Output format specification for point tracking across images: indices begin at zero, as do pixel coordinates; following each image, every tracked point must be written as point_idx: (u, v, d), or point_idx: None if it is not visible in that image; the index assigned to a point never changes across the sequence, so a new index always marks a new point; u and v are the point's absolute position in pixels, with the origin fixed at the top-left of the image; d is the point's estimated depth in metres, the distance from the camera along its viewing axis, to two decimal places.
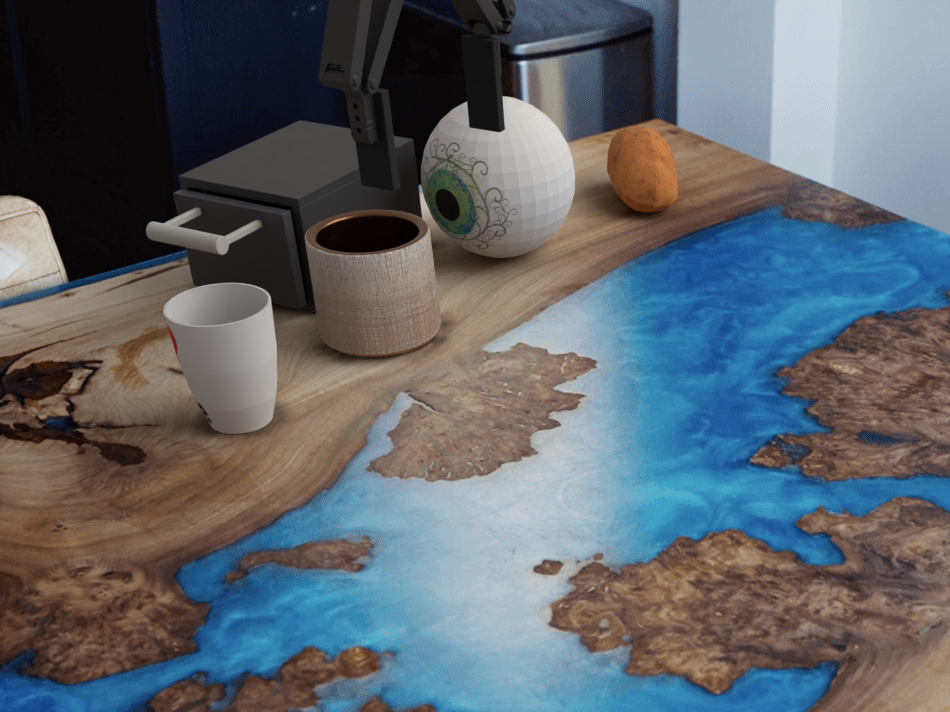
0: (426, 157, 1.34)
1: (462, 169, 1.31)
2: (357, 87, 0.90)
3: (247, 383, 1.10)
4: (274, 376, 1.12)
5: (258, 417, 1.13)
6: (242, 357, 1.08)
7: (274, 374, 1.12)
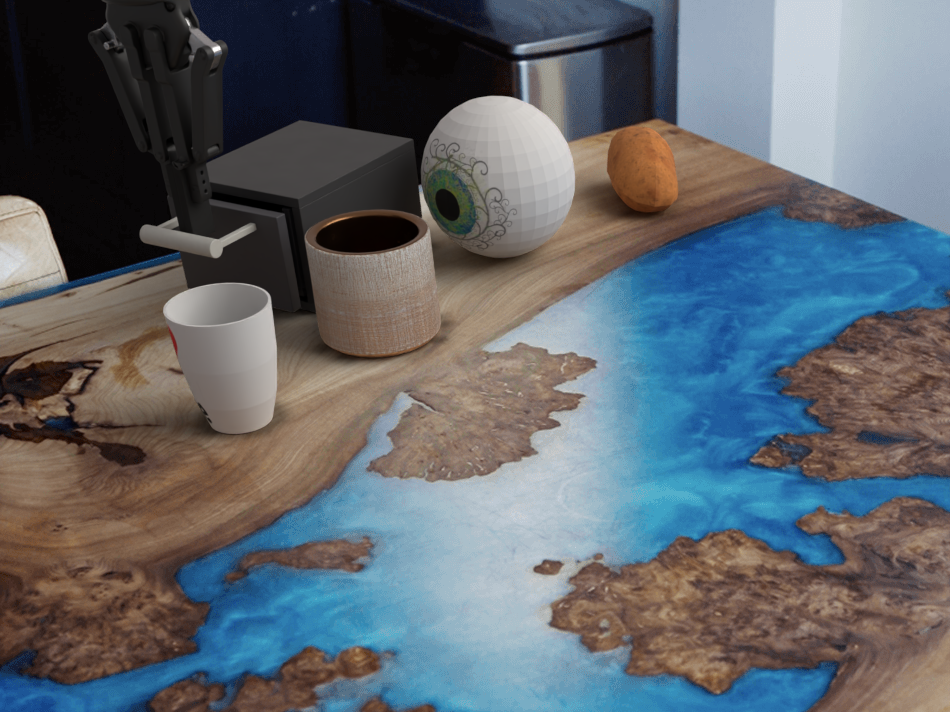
0: (426, 157, 1.34)
1: (462, 169, 1.31)
2: None
3: (247, 383, 1.10)
4: (274, 376, 1.12)
5: (258, 417, 1.13)
6: (242, 357, 1.08)
7: (274, 374, 1.12)
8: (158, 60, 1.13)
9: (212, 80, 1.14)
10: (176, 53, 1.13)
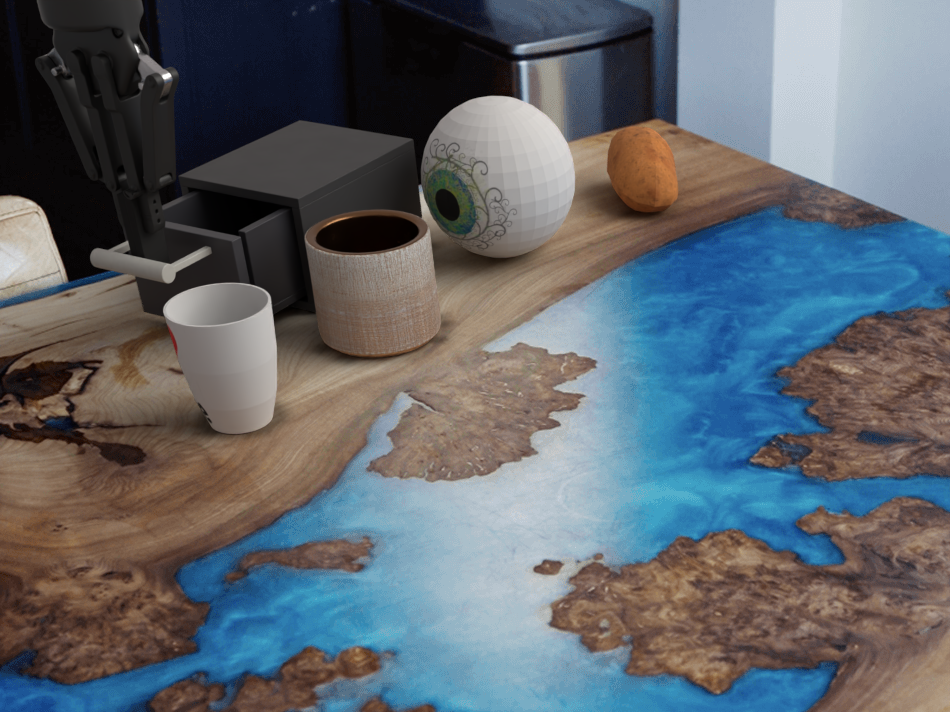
0: (426, 157, 1.34)
1: (462, 169, 1.31)
2: None
3: (247, 383, 1.10)
4: (274, 376, 1.12)
5: (258, 417, 1.13)
6: (242, 357, 1.08)
7: (274, 374, 1.12)
8: (107, 87, 1.10)
9: (163, 108, 1.11)
10: (125, 81, 1.09)
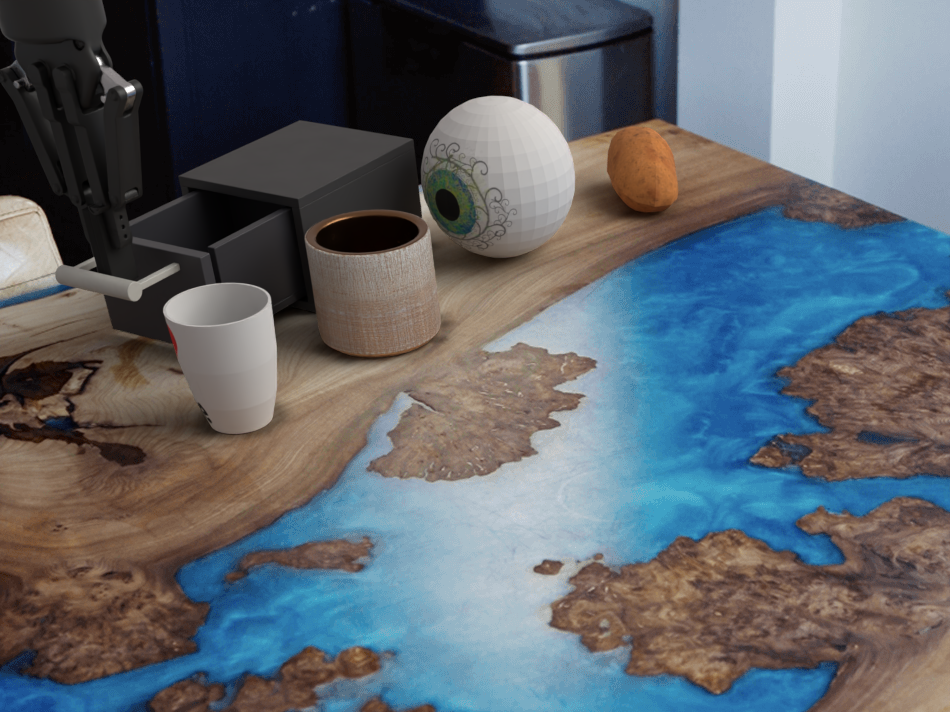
0: (426, 157, 1.34)
1: (462, 169, 1.31)
2: None
3: (247, 383, 1.10)
4: (274, 376, 1.12)
5: (258, 417, 1.13)
6: (242, 357, 1.08)
7: (274, 374, 1.12)
8: (69, 100, 1.07)
9: (127, 121, 1.08)
10: (88, 94, 1.07)
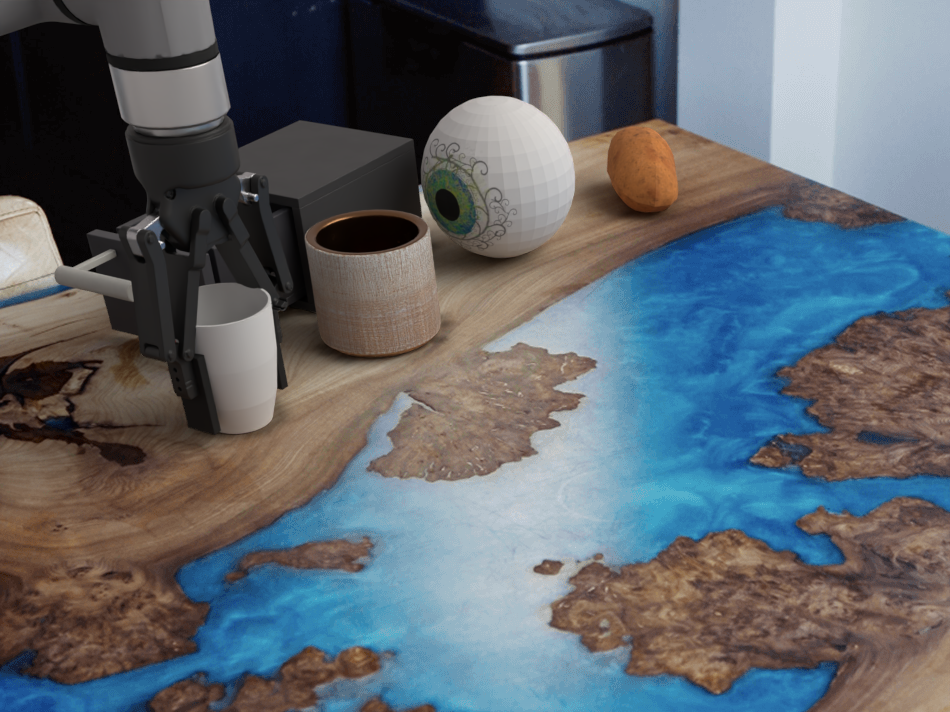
0: (426, 157, 1.34)
1: (462, 169, 1.31)
2: None
3: (247, 383, 1.10)
4: (274, 376, 1.12)
5: (258, 417, 1.13)
6: (242, 357, 1.08)
7: (274, 374, 1.12)
8: (238, 223, 1.06)
9: None
10: None
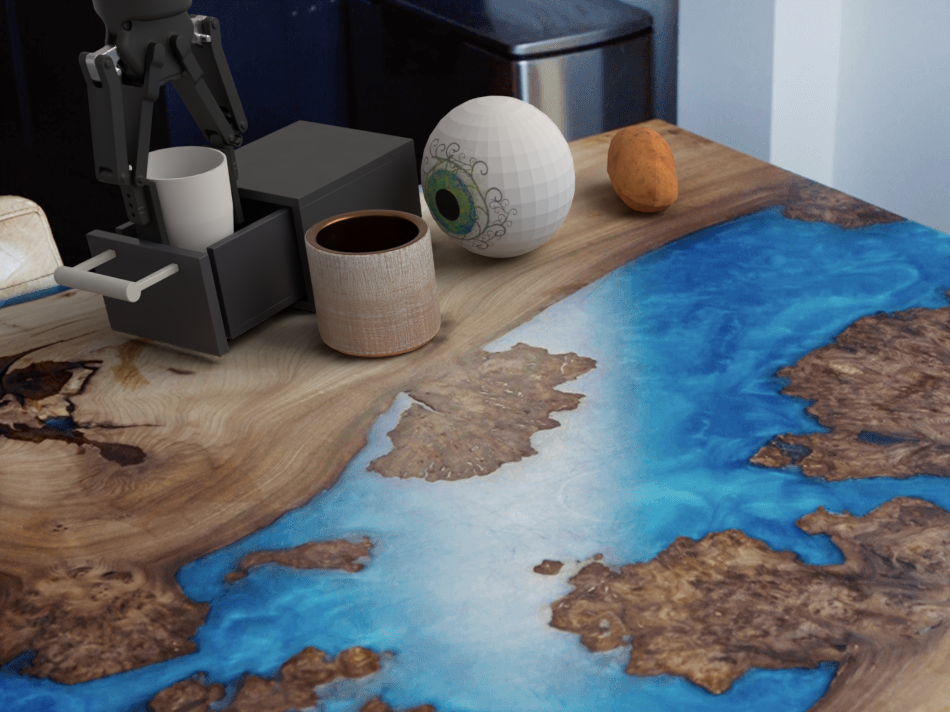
0: (426, 157, 1.34)
1: (462, 169, 1.31)
2: None
3: (205, 235, 1.21)
4: (230, 232, 1.23)
5: None
6: (200, 210, 1.19)
7: (230, 230, 1.23)
8: (191, 60, 1.16)
9: None
10: None
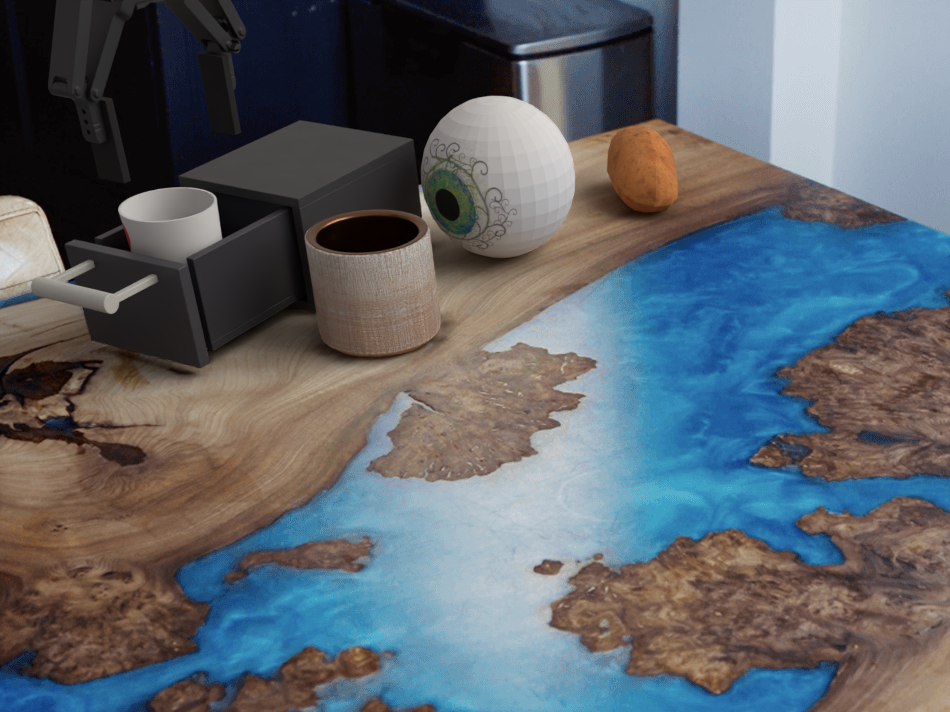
0: (426, 157, 1.34)
1: (462, 169, 1.31)
2: None
3: None
4: None
5: None
6: (188, 252, 1.19)
7: None
8: None
9: None
10: None
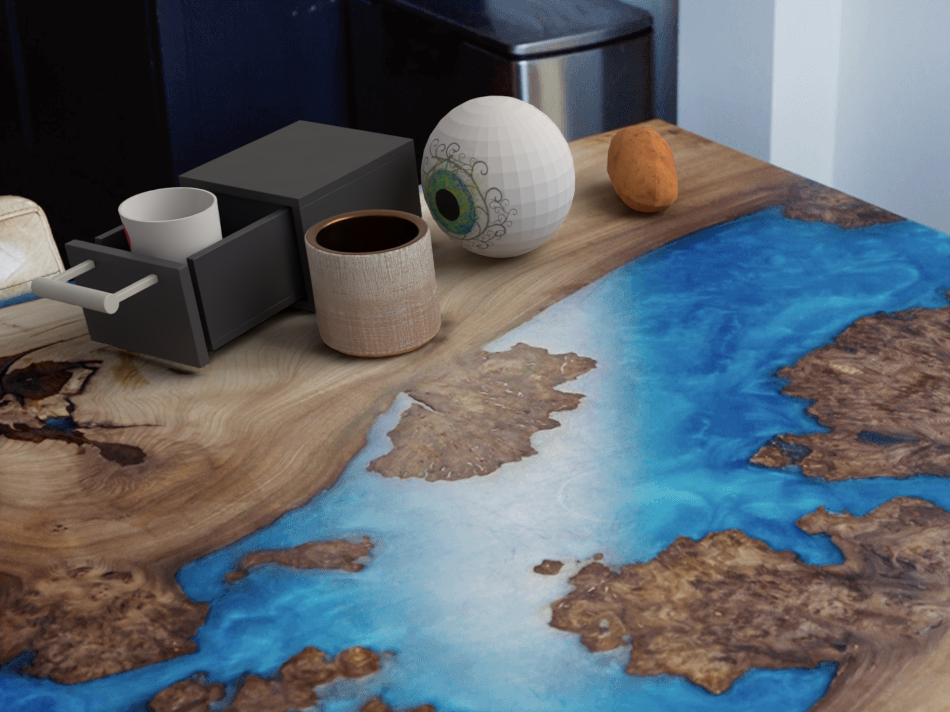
0: (426, 157, 1.34)
1: (462, 169, 1.31)
2: None
3: None
4: None
5: None
6: (188, 252, 1.19)
7: None
8: None
9: None
10: None
